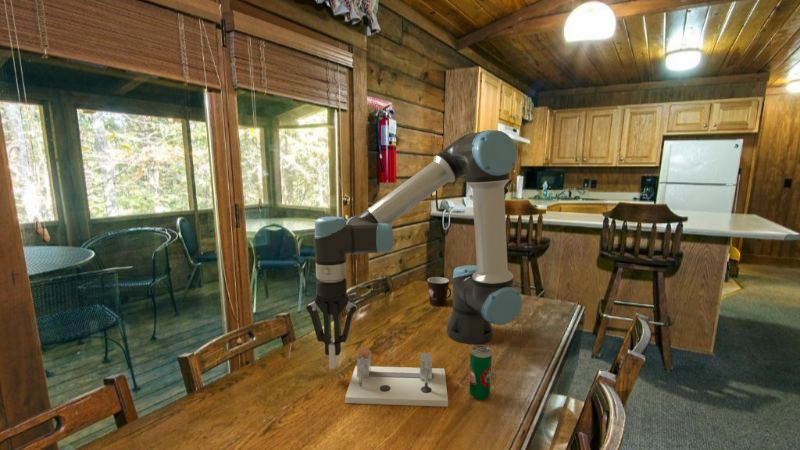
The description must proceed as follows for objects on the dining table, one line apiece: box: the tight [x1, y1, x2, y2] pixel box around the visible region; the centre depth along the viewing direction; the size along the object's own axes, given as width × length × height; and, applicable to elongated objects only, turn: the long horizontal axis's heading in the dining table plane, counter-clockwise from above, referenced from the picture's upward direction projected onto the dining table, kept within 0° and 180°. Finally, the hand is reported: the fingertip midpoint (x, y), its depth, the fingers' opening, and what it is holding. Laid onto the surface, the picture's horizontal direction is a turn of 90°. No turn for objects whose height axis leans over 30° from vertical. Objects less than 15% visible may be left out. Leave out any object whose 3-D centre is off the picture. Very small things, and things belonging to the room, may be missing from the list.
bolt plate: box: [344, 365, 449, 408], centre depth 93 cm, size 24×14×2 cm, turn 87°
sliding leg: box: [356, 348, 372, 386], centre depth 94 cm, size 3×8×6 cm, turn 177°
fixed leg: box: [419, 352, 433, 389], centre depth 93 cm, size 3×8×6 cm, turn 177°
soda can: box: [468, 344, 493, 401], centre depth 89 cm, size 5×5×12 cm
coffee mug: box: [427, 276, 452, 308], centre depth 149 cm, size 12×9×10 cm
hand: (333, 365), depth 97 cm, fingers closed
